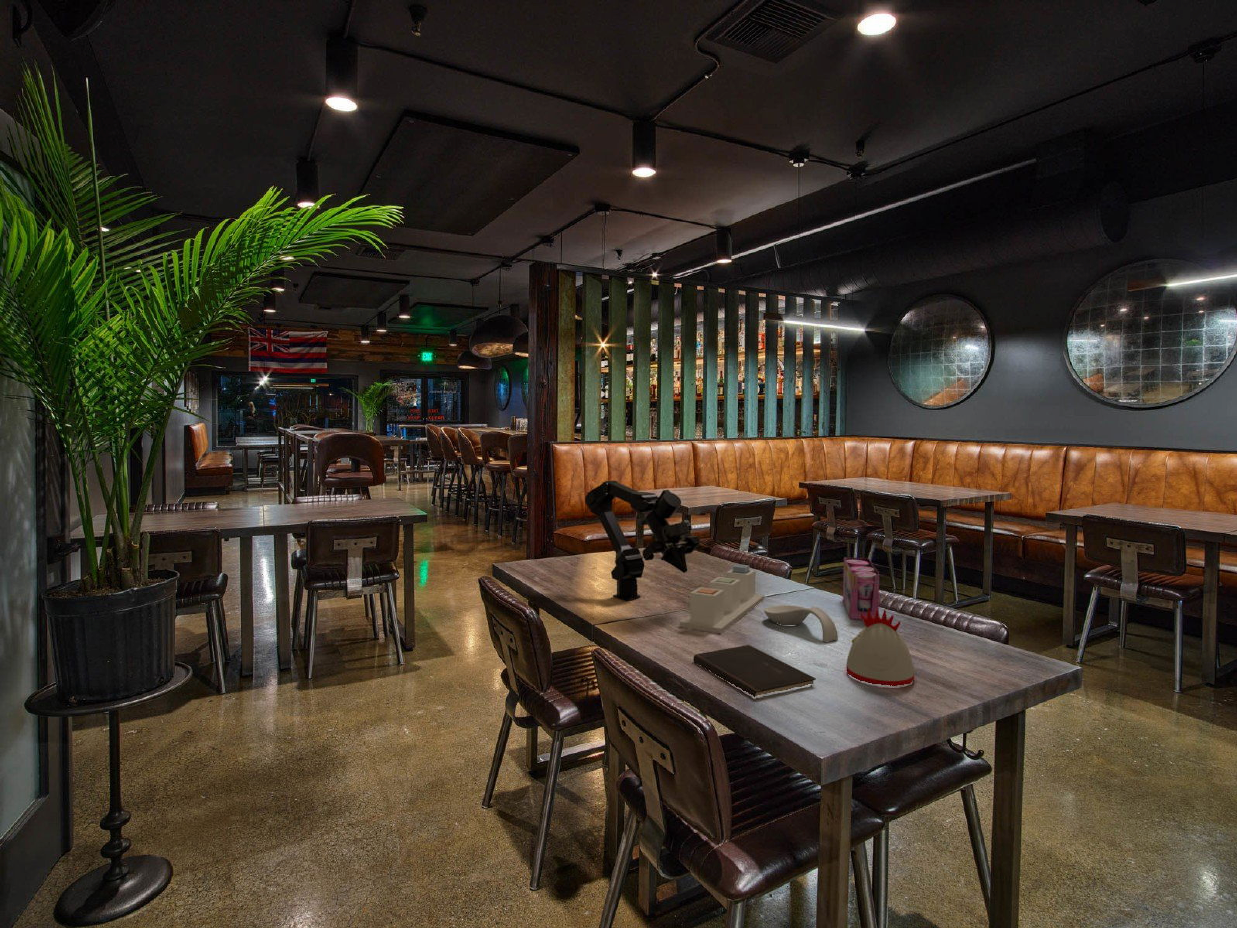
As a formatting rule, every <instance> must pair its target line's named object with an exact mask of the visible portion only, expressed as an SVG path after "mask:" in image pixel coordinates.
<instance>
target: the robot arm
mask: <svg viewBox="0 0 1237 928" xmlns="http://www.w3.org/2000/svg"><path fill="white" fill-rule="evenodd" d="M616 498H617V499H619V500H621V501H623V502H626V503H628V504H629V505H630V508H631V509H632V510H634V511H635V513H638V514H644V513H647V514H646V515H643V516H642V520H641V526H647V527H648V528H649V530H650V531H651V533H652V536H651V539H652V541H650V542H648V544H647V545H646V546H645V548H644V549H643V550H642V553H641V551H640V549H639V547H631V545H630V544H629V542H628V540H627V538H626V536H625V534H624V532H623V530H622V528H621V526H620V524H619V522H618V520H617V518H616V516H615V514H614V512H613V506H614V501H613V500H615V499H616ZM584 502H585V504H586V505H585V506H586V507H587V508H588V509H589V511H590V512H591V513H592V514H593V515H595V516H596V517H598V519H599V521H600V523H601V525H602V528H603V529H604V531H605V533H606V535H607V538H608V539H609V541H610V543H611V546H612V549H613V550H614V552H615V559H614V564H615V565H614V568H613V569H612V570H611V572H610V574H611V579H612V580H615V581H616V594H613V595H612V597H613V598H615V599H620V600H623V601H629V600H635V599H639V598H641V595H639V594H638V579H639V578H640V579H641V578H642V576H643V573H644V570H645V561H652V560H654V558H655V555H654V554H659V553H660V554H661V555H662V557H661V558H660V560H661V561H664V562H665V563H668V564H669V565H671V566H673V567H675V568H676V569H677V570H679V572H680V571H681V572H682V573H683V574H686V573H687V572H688V565H687V560H686V555H687V554H692V553H693V552H695V550H696V549H697V548H698V546H700V544H701V543H702V541H701V539H700V538H699V536H697V535H691V536H686V537H685V538H684V537H683V536H684V535H687V534H690V531H692V529H693V527H692V526H693V525H692V523H691V522H690V521H689V520H688V519H685V520H682V521H680V522H677V523H673V524H670V523H669V521H668V519H671V518H672V517H673V515H674V514H675V513H676V512H677V510H678V509H679V508H680V507H681V505H682V500H681V498H680V497H679V496H678V495H676V494H675V493H673V492H671V491H670V489H663V490H662V492H661V493H660V495H659V496H658V495H657V494H656V493H654V492H650V491H649V492H648V491H638V490H636V489H634V488H632V487H630V486H627V485H625V484H622V483H620V482H619V481H617V480H605V481H604V482H602V483H601V484H600V485H598V486H596V487H595V488H593V489H591V490H590V491H588V492H587V494H586V496H585V498H584ZM683 538H684V539H683ZM682 539H683V541H681V540H682Z"/></svg>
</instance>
